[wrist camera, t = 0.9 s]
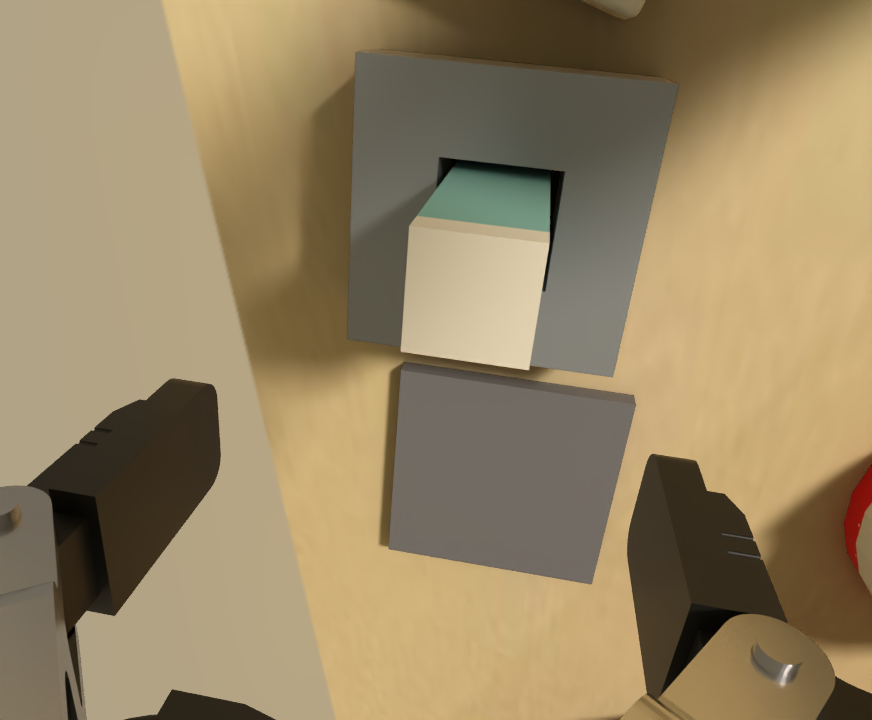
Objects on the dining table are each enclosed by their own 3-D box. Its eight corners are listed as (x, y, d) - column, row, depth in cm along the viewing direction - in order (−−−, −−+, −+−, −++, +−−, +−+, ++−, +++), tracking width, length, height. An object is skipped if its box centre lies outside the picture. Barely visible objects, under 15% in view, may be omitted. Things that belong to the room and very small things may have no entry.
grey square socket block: (661, 76, 29) (679, 84, 25) (605, 336, 34) (613, 377, 30) (382, 49, 30) (355, 51, 26) (370, 304, 35) (346, 339, 31)
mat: (633, 395, 35) (635, 404, 34) (590, 572, 40) (591, 584, 40) (404, 362, 36) (400, 370, 35) (391, 538, 42) (388, 549, 41)
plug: (550, 163, 31) (549, 243, 19) (537, 248, 33) (528, 370, 21) (463, 153, 31) (409, 225, 20) (454, 238, 33) (400, 351, 21)
